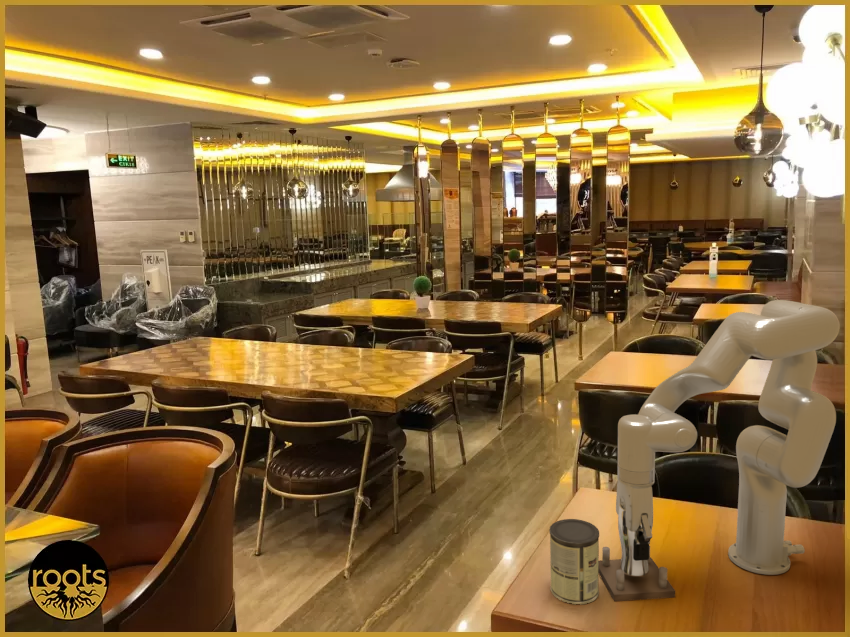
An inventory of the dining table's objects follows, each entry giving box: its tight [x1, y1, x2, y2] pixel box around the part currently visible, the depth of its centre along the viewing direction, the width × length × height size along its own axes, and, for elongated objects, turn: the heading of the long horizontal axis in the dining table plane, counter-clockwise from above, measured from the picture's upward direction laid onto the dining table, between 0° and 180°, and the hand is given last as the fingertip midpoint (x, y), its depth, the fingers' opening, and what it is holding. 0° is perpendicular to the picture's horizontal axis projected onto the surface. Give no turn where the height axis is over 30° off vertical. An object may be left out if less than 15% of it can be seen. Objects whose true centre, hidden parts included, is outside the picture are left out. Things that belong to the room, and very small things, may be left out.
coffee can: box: [549, 518, 600, 605], centre depth 137 cm, size 10×10×14 cm
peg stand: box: [598, 544, 676, 602], centre depth 140 cm, size 13×13×6 cm
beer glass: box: [617, 504, 653, 577], centre depth 139 cm, size 7×7×15 cm
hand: (634, 549), depth 139 cm, fingers closed on beer glass, 6 cm apart
